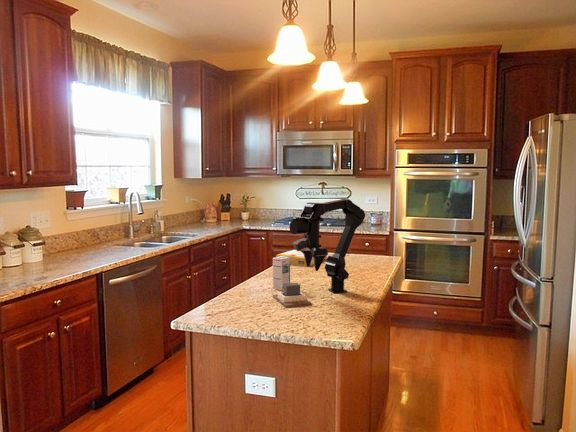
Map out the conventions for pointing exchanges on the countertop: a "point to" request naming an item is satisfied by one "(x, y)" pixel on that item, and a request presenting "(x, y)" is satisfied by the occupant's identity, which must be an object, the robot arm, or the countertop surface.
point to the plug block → (291, 289)
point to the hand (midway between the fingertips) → (312, 268)
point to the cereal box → (296, 258)
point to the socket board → (292, 300)
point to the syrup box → (281, 272)
